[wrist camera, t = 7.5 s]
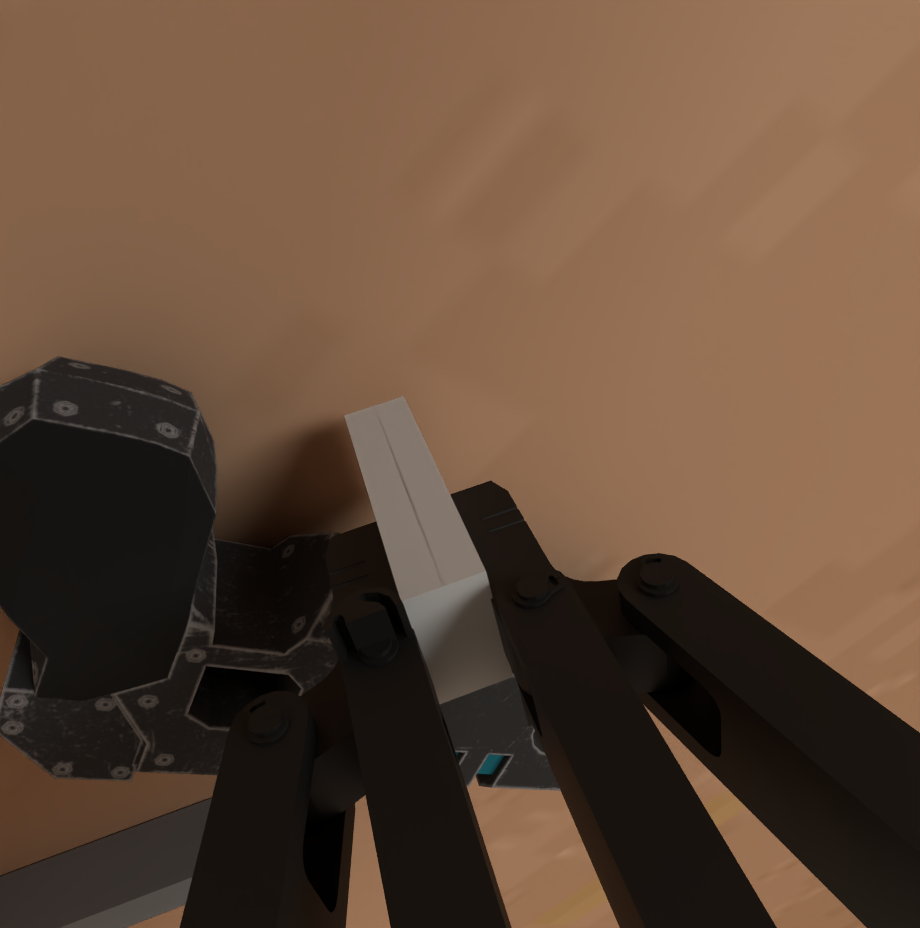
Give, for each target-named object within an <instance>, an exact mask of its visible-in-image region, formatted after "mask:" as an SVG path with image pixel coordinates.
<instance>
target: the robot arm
mask: <svg viewBox="0 0 920 928" xmlns="http://www.w3.org/2000/svg"><path fill="white" fill-rule="evenodd" d="M344 417H345V420H346V423H347V427H348V430H349V433H350V436H351V440H352V443H353V446H354V449H355V453H356V456H357V459H358V463H359V466H360V469H361V472H362V476H363V479H364V482H365V485H366V489H367V492H368V495H369V499H370V502H371V505H372V508H373V512H374V515H375V518H376V521H377V522H374V523H371V524H368V525H365V526H362V527H359V528H356V529H353V530H350V531H347V532H345V533H342V534H339V535H336V536H333V537H331V540H330V543H329V546H328V549H327V551H326V554H325V558H326V563H327V569H328V573H329V579H330V584H331V588H332V594H333V599H334V604H335V606H334V607H333V608H332V610H331V612H330V613H329V615H328V617H327V619H326V632H327V635H328V637H329V639H330V641H331V643H332V645H333V648H334V650H335V652H336V654H337V656H338V659H339V660H338V662H337V664H336V665H335V667H334V669H333V670H332V671H331V672H330V673H329V674H328V676H327V677H326V678H325V679H323V680H322V681H321V682H320V683H318V684H317V685H316V686H314V687H313V688H311V689H310V690H308V691H307V692H305V693H304V694H302V695H301V696H299V695H296V694H294V693H292V692H290V691H274V692H271V693H268V694H264V695H261V696H259V697H258V698H256V699H255V700H253V701H252V702H250V703H249V704H247V705H246V706H245V707H244V708H243V709H242V710H241V711H240V712H239V714H238V715H237V716H236V717H235V718H234V721H233V723H232V725H231V727H230V729H229V732H228V736H227V740H226V744H225V748H224V752H223V756H222V760H221V764H220V768H219V772H218V776H217V780H216V784H215V788H214V792H213V796H212V800H211V804H210V808H209V812H208V816H207V820H206V824H205V828H204V832H203V836H202V840H201V844H200V848H199V852H198V856H197V860H196V864H195V868H194V872H193V876H192V880H191V884H190V888H189V892H188V897H187V901H186V905H185V909H184V913H183V917H182V921H181V925H180V928H346V916H347V904H348V892H349V879H350V867H351V855H352V843H353V830H354V818H355V802H357V801H358V800H359V799H361V798H362V797H363V796H365V795H366V800H367V805H368V810H369V815H370V821H371V826H372V831H373V836H374V842H375V847H376V852H377V857H378V863H379V868H380V873H381V878H382V884H383V889H384V894H385V899H386V905H387V910H388V915H389V920H390V926H391V928H511V925H510V922H509V918H508V915H507V912H506V909H505V906H504V903H503V900H502V896H501V893H500V890H499V887H498V884H497V881H496V878H495V874H494V871H493V868H492V865H491V862H490V859H489V856H488V853H487V849H486V846H485V843H484V840H483V837H482V834H481V831H480V827H479V824H478V821H477V818H476V815H475V812H474V809H473V806H472V802H471V799H470V796H469V793H468V790H467V787H466V784H465V780H464V777H463V774H462V771H461V768H460V765H459V762H458V758H457V755H456V752H455V749H454V746H453V743H452V740H451V737H450V733H449V730H448V727H447V725H446V722H445V719H444V716H443V713H442V710H441V707H440V704H442V703H445V702H447V701H450V700H453V699H455V698H458V697H461V696H463V695H466V694H469V693H471V692H474V691H477V690H479V689H482V688H485V687H487V686H490V685H493V684H495V683H498V682H501V681H503V680H506V679H509V678H511V677H513V674H512V671H513V673H514V676H515V678H516V680H517V683H518V687H519V691H520V695H521V699H522V703H523V707H524V710H525V714H526V718H527V722H528V726H531V725H533V727H534V730H535V732H536V734H537V737H538V739H539V741H540V744H541V746H542V748H543V750H544V753H545V755H546V757H547V760H548V762H549V764H550V767H551V769H552V771H553V774H554V776H555V778H556V781H557V783H558V785H559V788H560V790H561V792H562V795H563V797H564V799H565V801H566V804H567V806H568V808H569V811H570V813H571V815H572V818H573V820H574V822H575V825H576V827H577V829H578V832H579V834H580V836H581V839H582V841H583V843H584V846H585V848H586V850H587V852H588V855H589V857H590V859H591V862H592V864H593V866H594V869H595V871H596V873H597V876H598V878H599V880H600V883H601V885H602V887H603V890H604V892H605V894H606V897H607V899H608V901H609V903H610V906H611V908H612V910H613V913H614V915H615V917H616V920H617V922H618V924H619V927H620V928H777V927H776V926H775V924H774V922H773V921H772V919H771V917H770V916H769V914H768V912H767V911H766V909H765V907H764V906H763V904H762V902H761V901H760V899H759V897H758V896H757V894H756V892H755V890H754V889H753V887H752V885H751V884H750V882H749V880H748V879H747V877H746V875H745V874H744V872H743V870H742V869H741V867H740V865H739V864H738V862H737V860H736V859H735V857H734V855H733V854H732V852H731V850H730V849H729V847H728V845H727V844H726V842H725V840H724V839H723V837H722V835H721V834H720V832H719V830H718V829H717V827H716V825H715V824H714V822H713V820H712V819H711V817H710V815H709V814H708V812H707V810H706V809H705V807H704V805H703V804H702V802H701V800H700V799H699V797H698V795H697V794H696V792H695V790H694V789H693V787H692V785H691V784H690V782H689V780H688V779H687V777H686V775H685V774H684V772H683V770H682V769H681V767H680V765H679V764H678V762H677V760H676V759H675V757H674V755H673V753H672V752H671V750H670V748H669V747H668V745H667V743H666V742H665V740H664V738H663V737H662V735H661V733H660V732H659V730H658V728H657V727H656V725H655V723H654V722H653V720H652V718H651V717H650V715H649V713H648V712H647V710H646V708H645V707H644V705H645V706H646V707H647V708H648V709H649V710H650V711H651V712H652V713H653V714H654V715H655V716H656V717H657V718H658V719H659V720H660V721H661V722H662V723H663V724H664V725H665V726H666V727H667V728H668V729H669V730H670V731H671V732H672V733H673V734H674V735H675V736H676V737H677V738H678V739H679V740H680V741H681V742H682V743H683V744H684V745H685V746H686V747H687V748H688V749H689V750H690V751H691V752H692V753H693V754H694V755H695V756H696V757H697V758H698V759H699V760H700V761H701V762H702V763H703V764H704V765H705V766H706V767H707V768H708V769H709V770H710V771H711V772H712V773H713V774H714V775H715V776H716V777H717V778H718V779H719V780H720V781H721V782H722V783H723V784H724V785H725V786H726V787H727V788H728V789H729V790H730V791H731V792H732V793H733V794H734V795H735V796H736V797H737V798H738V799H739V800H740V801H741V802H742V803H743V804H744V805H745V806H746V807H747V808H748V809H749V810H750V811H751V812H752V813H753V814H754V815H755V816H756V817H757V818H758V819H759V820H760V821H761V822H762V823H763V824H764V825H765V826H766V827H767V828H768V829H769V830H770V831H771V832H772V833H773V834H774V835H775V836H776V837H777V838H778V839H779V840H780V841H781V842H782V843H783V844H784V845H785V846H786V847H787V848H788V849H789V850H790V851H791V852H792V853H793V854H794V855H795V856H796V857H797V858H798V859H799V860H800V861H801V862H802V863H803V864H804V865H805V866H806V867H807V868H808V869H809V870H810V871H811V872H812V873H813V874H814V875H815V876H816V877H817V878H818V879H819V880H820V881H821V882H822V883H823V884H824V885H825V886H826V887H827V888H828V889H829V890H830V891H831V892H832V893H833V894H834V895H835V896H836V897H837V898H838V899H839V900H840V901H841V902H842V903H843V904H844V905H845V906H846V907H847V908H848V909H849V910H850V911H851V912H852V913H853V914H854V915H855V916H856V917H857V918H858V919H859V920H860V921H861V922H862V923H863V924H864V925H865V926H866V927H867V928H920V733H919V732H918V731H916V730H915V729H914V728H912V727H911V726H910V725H908V724H907V723H906V722H904V721H903V720H901V719H900V718H899V717H897V716H896V715H895V714H893V713H892V712H891V711H889V710H888V709H887V708H885V707H884V706H882V705H881V704H880V703H878V702H877V701H876V700H874V699H873V698H872V697H870V696H869V695H867V694H866V693H865V692H863V691H862V690H861V689H859V688H858V687H857V686H855V685H854V684H852V683H851V682H850V681H848V680H847V679H846V678H844V677H843V676H842V675H840V674H839V673H837V672H836V671H835V670H833V669H832V668H831V667H829V666H828V665H827V664H825V663H824V662H822V661H821V660H820V659H818V658H817V657H816V656H814V655H813V654H812V653H810V652H809V651H807V650H806V649H805V648H803V647H802V646H801V645H799V644H798V643H797V642H795V641H794V640H793V639H791V638H790V637H788V636H787V635H786V634H784V633H783V632H782V631H780V630H779V629H778V628H776V627H775V626H773V625H772V624H771V623H769V622H768V621H767V620H765V619H764V618H763V617H761V616H760V615H758V614H757V613H756V612H754V611H753V610H752V609H750V608H749V607H748V606H746V605H745V604H743V603H742V602H741V601H739V600H738V599H737V598H735V597H734V596H733V595H731V594H730V593H728V592H727V591H726V590H724V589H723V588H722V587H720V586H719V585H718V584H716V583H715V582H714V581H712V580H711V579H709V578H708V577H707V576H705V575H704V574H703V573H701V572H700V571H699V570H697V569H696V568H694V567H693V566H692V565H690V564H689V563H688V562H686V561H684V560H682V559H680V558H678V557H676V556H673V555H667V554H661V553H658V554H647V555H643V556H640V557H638V558H635V559H633V560H631V561H630V562H629V563H627V564H626V565H625V566H624V567H623V568H622V569H621V571H620V574H619V576H618V578H617V580H606V581H586V582H585V581H579V580H573V579H571V578H568V577H566V576H564V575H563V574H562V573H561V572H560V571H557V570H555V569H554V568H553V566H552V565H551V564H550V562H549V561H548V559H547V557H546V555H545V554H544V552H543V550H542V549H541V547H540V545H539V544H538V542H537V540H536V538H535V537H534V535H533V533H532V532H531V530H530V528H529V526H528V525H527V523H526V521H524V518H523V516H522V515H521V513H520V511H519V509H517V506H516V504H515V503H514V501H513V499H512V497H511V496H510V494H509V492H508V491H507V490H505V489H504V488H502V487H500V486H499V485H497V484H495V483H494V482H492V481H488V482H486V483H483V484H480V485H477V486H474V487H471V488H468V489H465V490H462V491H459V492H456V493H453V494H450V493H449V491H448V489H447V487H446V485H445V483H444V481H443V478H442V476H441V474H440V472H439V470H438V468H437V466H436V463H435V461H434V459H433V457H432V455H431V453H430V451H429V448H428V446H427V444H426V442H425V440H424V438H423V436H422V434H421V431H420V429H419V427H418V425H417V423H416V421H415V419H414V416H413V414H412V412H411V410H410V408H409V406H408V404H407V401H406V399H405V397H404V396H402V397H399V398H396V399H393V400H390V401H387V402H384V403H381V404H377V405H374V406H371V407H368V408H365V409H362V410H359V411H356V412H353V413H350V414H347V415H344ZM511 669H512V670H511ZM643 704H644V705H643Z"/></svg>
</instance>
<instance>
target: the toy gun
mask: <svg viewBox="0 0 920 928" xmlns="http://www.w3.org/2000/svg"><path fill="white" fill-rule="evenodd" d="M216 498H217V464H216V453H215V442H214V440H213V438H212V436H211V433H210V431H209V429H208V427H207V425H206V423H205V421H204V418H203V416H202V414H201V412H200V410H199V408H198V406H197V403H196V401H195V399H194V397H193V395H192V393H191V392H189V391H187V390H184V389H182V388H180V387H177V386H175V385H172V384H170V383H167V382H165V381H163V380H160V379H156V378H152V377H149V376H145V375H141V374H138V373H134V372H130V371H126V370H121V369H117V368H112V367H107V366H102V365H97V364H92V363H87V362H82V361H78V360H73V359H68V358H63V357H58V356H57V357H55V358H54V359H52V360H50V361H49V362H47V363H45V364H43V365H42V366H40V367H38V368H37V369H35V370H32V371H30V372H28V373H26V374H24V375H22V376H20V377H18V378H16V379H14V380H11V381H9V382H7V383H5V384H3V385H1V386H0V606H1V608H2V609H3V610H4V612H5V613H6V615H7V616H8V617H9V619H10V620H11V621H12V622H13V623H14V624H15V625H16V626H17V627H18V628H19V629H20V630H19V634H18V637H17V641H16V644H15V648H14V651H13V655H12V658H11V662H10V665H9V669H8V672H7V676H6V679H5V683H4V687H3V690H2V694H1V699H0V736H1V737H2V738H3V739H5V740H6V741H7V742H9V743H10V744H11V745H12V746H14V747H15V748H16V749H17V750H19V751H20V752H21V753H23V754H24V755H25V756H26V757H28V758H29V759H30V760H31V761H33V762H34V763H35V764H37V765H38V766H39V767H40V768H42V769H43V770H44V771H45V772H47V773H48V774H49V775H51V776H52V777H53V778H61V779H86V780H112V781H132V779H133V776H134V774H135V771H136V772H157V773H179V774H201V775H218V772H219V768H220V764H221V760H222V756H223V752H224V748H225V744H226V740H227V736H228V732H229V729H230V727H231V725H232V723H233V721H234V718H235V717H236V716H237V715H238V714H239V712H240V711H241V710H242V709H243V708H244V707H245V706H246V705H247V704H249V703H250V702H252V701H253V700H255V699H256V698H258V697H259V696H261V695H264V694H268V693H271V692H274V691H290V692H292V693H294V694H296V695H299V696H301V695H302V694H304V693H305V692H307V691H308V690H310V689H311V688H313V687H314V686H316V685H317V684H318V683H320V682H321V681H322V680H323V679H325V678H326V677H327V676H328V674H329V673H330V672H331V671H332V670H333V669H334V667H335V665H336V664H337V662H338V660H339V659H338V656H337V654H336V652H335V650H334V648H333V645H332V643H331V641H330V639H329V637H328V635H327V632H326V619H327V617H328V615H329V613H330V612H331V610H332V608H333V607H334V606H335V604H334V599H333V594H332V588H331V584H330V579H329V573H328V569H327V563H326V558H325V554H326V551H327V549H328V546H329V543H330V540H331V537H333V536H336V535H339V534H341V533H336V532H331V531H330V532H320V533H310V534H300V535H290V536H289V537H287V538H286V539H284V540H283V541H282V542H280V543H279V544H278V545H276V546H275V547H273V548H272V549H271V548H265V547H260V546H254V545H249V544H243V543H237V542H232V541H226V540H221V539H215V538H214V531H213V524H214V520H215V517H216ZM511 670H512V669H511ZM512 674H513V677H511V678H509V679H506V680H503V681H501V682H498V683H495V684H493V685H490V686H487V687H485V688H482V689H479V690H477V691H474V692H471V693H469V694H466V695H463V696H461V697H458V698H455V699H453V700H450V701H447V702H445V703H442V704H440V707H441V710H442V713H443V716H444V719H445V722H446V725H447V727H448V730H449V733H450V737H451V740H452V743H453V746H454V749H455V752H456V755H457V758H458V762H459V765H460V768H461V771H462V774H463V777H464V780H465V784H466V786H468V787H469V785H470V784H471V782H472V781H473V779H474V777H475V776H476V778H477V781H478V784H479V786H484V787H491V788H513V789H535V790H557V791H561V790H560V788H559V785H558V783H557V781H556V778H555V776H554V774H553V771H552V769H551V767H550V764H549V762H548V760H547V757H546V755H545V753H544V750H543V748H542V746H541V744H540V741H539V739H538V737H537V734H536V732H535V730H534V727H533V725H531V726H528V722H527V718H526V714H525V710H524V707H523V703H522V699H521V695H520V691H519V687H518V683H517V680H516V678H515V676H514V673H513V671H512Z"/></svg>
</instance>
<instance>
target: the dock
mask: <svg viewBox="0 0 920 928" xmlns="http://www.w3.org/2000/svg"><path fill="white" fill-rule="evenodd" d="M211 800H212V798H210V799H207V800H205V801H202V802H199V803H197V804H194V805H191V806H189V807H186V808H183V809H181V810H178V811H175V812H172V813H170V814H167V815H164V816H162V817H159V818H156V819H154V820H151V821H148V822H145V823H143V824H140V825H137V826H135V827H132V828H129V829H127V830H124V831H121V832H119V833H116V834H113V835H110V836H108V837H105V838H102V839H100V840H97V841H94V842H92V843H89V844H86V845H83V846H81V847H78V848H75V849H73V850H70V851H67V852H65V853H62V854H59V855H57V856H54V857H51V858H48V859H46V860H43V861H40V862H38V863H35V864H32V865H30V866H27V867H24V868H21V869H19V870H16V871H13V872H11V873H8V874H5V875H3V876H0V928H126V927H129V926H131V925H134V924H136V923H139V922H142V921H144V920H147V919H149V918H152V917H154V916H157V915H160V914H162V913H165V912H167V911H170V910H173V909H175V908H178V907H180V906H183V905H186V901H187V897H188V892H189V888H190V884H191V880H192V876H193V872H194V868H195V864H196V860H197V856H198V852H199V848H200V844H201V840H202V836H203V832H204V828H205V824H206V820H207V816H208V812H209V808H210V804H211Z"/></svg>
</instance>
